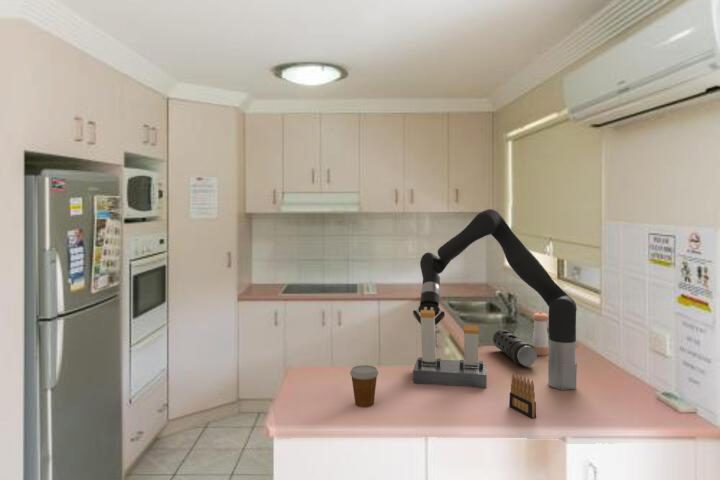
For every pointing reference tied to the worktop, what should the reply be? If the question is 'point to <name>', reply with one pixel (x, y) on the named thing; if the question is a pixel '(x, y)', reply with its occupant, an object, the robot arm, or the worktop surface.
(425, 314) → the lever far
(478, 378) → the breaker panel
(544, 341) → the pepper shaker
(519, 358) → the muzzle brake
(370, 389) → the disposable coffee cup
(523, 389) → the ammunition clip
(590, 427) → the worktop surface
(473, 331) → the lever near
